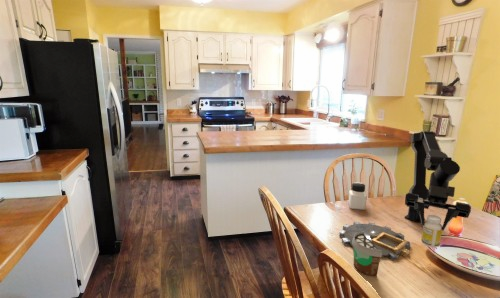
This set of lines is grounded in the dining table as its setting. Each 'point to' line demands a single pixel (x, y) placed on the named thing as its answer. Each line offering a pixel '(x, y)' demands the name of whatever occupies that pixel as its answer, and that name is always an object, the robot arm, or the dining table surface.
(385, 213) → the dining table surface
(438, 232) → the supplement bottle
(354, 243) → the food container
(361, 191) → the medicine bottle
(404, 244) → the sprocket
